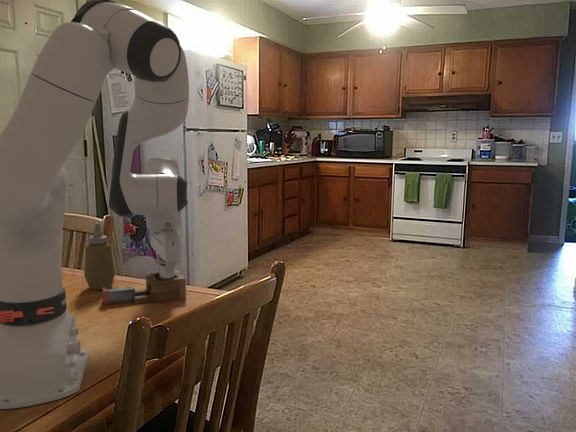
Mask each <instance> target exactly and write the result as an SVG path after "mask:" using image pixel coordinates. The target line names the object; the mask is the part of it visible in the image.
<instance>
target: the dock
mask: <svg viewBox="0 0 576 432" xmlns="http://www.w3.org/2000/svg"><path fill="white" fill-rule="evenodd" d="M186 280H187V279H186V277H185V276H184V275H183V274H182V273H181V272H180V270H178V269H175V278H170V279H161V280H159V271H154V272H146V273H145V289H138V290H135V297H134V301H133V302H134V303H133V304H143V303H152V304H155V303H164V302H170V301H176V300H185V299H187V287H186V286H187V285H186V284H187V283H186V282H187V281H186Z"/></svg>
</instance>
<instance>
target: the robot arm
mask: <svg viewBox="0 0 576 432" xmlns="http://www.w3.org/2000/svg"><path fill="white" fill-rule="evenodd" d="M114 69H116V70H118V71H121V72H123V73H125V74H129V75H131V76H134V100H133V102H132V105H131V107H130V108H129V109H128V110H127V111H125V112H123V113H122V114H121V115H120V118H119V122H118V126H117V134H116V137H115V144H114V153H113V159H112V166H111V168H112V170H111V177H110V179H109V182H108V185H107V188H106V202H107V203H106V204H108V205H107V206H108V208H109V209H110V210H111V211H112V212H113V213H115V214H116V215H118V217H122V218H124V217H132V216H133V217H134V216H136V215H137V216H140V215H141V216H142V215H145V222H146V228H147V229H148V234H149V243H150V247H151V248H152V249H153V250H154V251H155V254H156V261H157V260H158V259H159V258H162V259H163V260H164V261H165V264H166V270H165V275H166V277H168V278H169V277H173V275H174V274H173V270H174V266H175V265H176V264H179V263H180V262H181V242H180V235H179V232H178V229H179V228H181V227H182V210H183V209H184V208H185V207H186V206H187V205H188V204H189V202H188V199H187V197H188V195H187V189H188V188H187V187H188V181H186V179H184V178H183V177H182V176H181V175H180V168H179V167H180V166H179V164H178V160H177V159H175V158H171V157H153V158H150V159H148V160H147V163H146V169H145V173H142V174H141V173H139V174H138V173H132V172H131V167H132V161H133V154H134V151H135V149H136V148H137V147H138V146H139V145H142V144H143V143H145V142H147V141H150V140H152V139H156V138H159V137H163V136H165V135H168V134H170V133H172V132H173V131H175V130H177V128H179V127H180V126H181V125H182V124H183V123H184V122H185V120H186V118H187V115H188V111H189V110H188V109H189V102H190V84H189V83H190V82H189V72H188V64H187V58H186V53H185V51H184V49H183V47H182V46H181V43H180V40H179V38H178V35H177V34H176V33H175V32H174V31H173V30H172V29H171V28H170V27H169V26H167V25H166V24H165V23H163V22H161V21H158V20H155V19H153V18H152V17H150V16H148V15H146V14H144V13H142V12H141V11H140V10H138V9H135V8H133V7H130V6H127V5H124V4H120V3H117V2H115V1H113V0H88V1H86V2H85V3H83V4H82V5H81V6H80V7H79V9H78V10H77V11H76V12H75V14H74V17H73V18H72V19H71V21H68V22H63V23H60V24H59V25H58V26H56V28H55V29H54V31H53V32H52V33H51V35H50V36H49V38H48V39H47V41H46V42H45V44H44V46H43V47H42V49H41V50H40V53H39V55H38V56H37V58H36V59H35V63H34V65H33V67H32V69H31V72H30V73H29V76H28V79H27V81H26V84H25V86H24V88H23V90H22V93H21V95H20V99H18V103H17V105H16V108H15V109H14V112H13V114H12V116H11V117H10V118H9V121H8V122H7V124H6V126H5V127H4V128H3V130H2V131H1V134H0V410H9V409H17V408H25V407H30V406H31V407H32V406H36V405H41V404H45V403H49V402H54V401H57V400H61V399H63V398H66V397H70V396H72V395H73V394H75V393H78V392H79V391H80V390H81V387H82V383H83V380H84V376H85V372H86V369H87V365H88V362H89V357H90V353H89V352H90V351H89V350H87V349H85V348H81V341H78V339H77V336H79V328H78V327H77V324H76V322H77V321H76V316H75V315H74V314H72V313H70V312H69V311H68V309H67V307H68V306H67V301H68V300H67V294H66V289H65V288H64V287H63V270H62V252H61V251H62V237H63V236H62V235H63V228H64V221H65V220H64V217H65V210H66V209H65V208H66V206H65V205H66V197H67V193H68V190H69V184H70V182H69V181H70V179H69V176H68V173H67V171H66V170H65V168H64V167H63V166H64V164H65V163H66V161H67V159H68V158H69V157H70V155H71V153H72V152H73V150H74V149H75V148H76V147H77V145H78V144H79V143H80V141H81V139H82V136H83V134H84V131H85V130H86V128H87V127H86V126H87V124H88V122H89V119H90V118H91V115H92V113H93V110H94V108H95V106H96V103H97V100H98V98H99V96H100V94H101V91H102V89H103V88H102V87H103V86H104V81H105V79H106V77H107V76H108V75H109V74H110V72H111V71H112V70H114ZM157 267H158V268H159V264H158V263H157ZM175 267H176V266H175Z"/></svg>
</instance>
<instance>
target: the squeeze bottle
mask: <svg viewBox="0 0 576 432" xmlns="http://www.w3.org/2000/svg"><path fill="white" fill-rule="evenodd" d="M88 242H89V243H88V244H87V245H86V247H85V257H84V278H85V280H86V284H87V285H88V288H89V289H90V290H92V291H93V290H94V291H102V288H103V287H107V288H108V289H111V288H112V286H113V284H114V279H115V277H116V268H115V262H114V261H115V260H114V256H113V255H114V254H113V249H112V244H110V243H108V236H107V235H104V234H103V230H102V226H101V225H100V223H94V228H93V234H92V235H91V236H89V237H88Z"/></svg>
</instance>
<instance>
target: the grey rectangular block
mask: <svg viewBox="0 0 576 432" xmlns="http://www.w3.org/2000/svg"><path fill="white" fill-rule="evenodd" d="M101 291H102V292H101V294H102V303H103V306H105V307H106V306H110V305H112V304H119V303H120V304H121V303H129V302H134V297H135V291H136V288H135V286H134V285H131V286H123V287H115V288H107V287H103V288H102V290H101Z"/></svg>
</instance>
